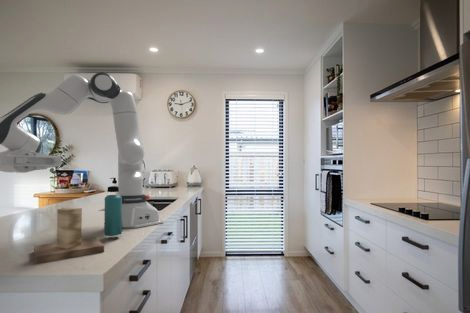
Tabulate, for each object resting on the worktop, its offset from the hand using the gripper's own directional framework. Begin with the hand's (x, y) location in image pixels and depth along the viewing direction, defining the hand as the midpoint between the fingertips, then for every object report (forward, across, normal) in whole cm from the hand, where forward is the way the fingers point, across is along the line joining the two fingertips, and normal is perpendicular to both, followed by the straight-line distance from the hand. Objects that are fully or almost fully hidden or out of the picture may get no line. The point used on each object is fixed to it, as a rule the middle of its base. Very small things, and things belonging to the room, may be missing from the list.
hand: (42, 160), depth 102 cm
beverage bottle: (+16, +18, +30) cm, 38 cm away
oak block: (+18, -1, +28) cm, 34 cm away
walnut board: (+18, -1, +30) cm, 35 cm away
